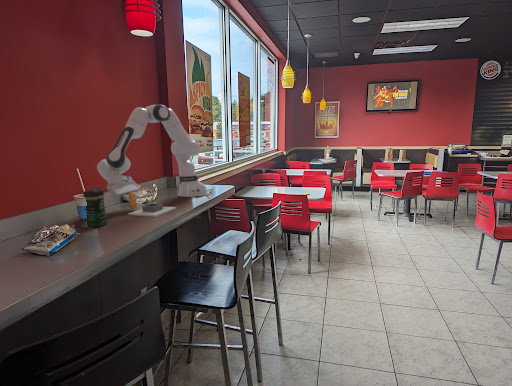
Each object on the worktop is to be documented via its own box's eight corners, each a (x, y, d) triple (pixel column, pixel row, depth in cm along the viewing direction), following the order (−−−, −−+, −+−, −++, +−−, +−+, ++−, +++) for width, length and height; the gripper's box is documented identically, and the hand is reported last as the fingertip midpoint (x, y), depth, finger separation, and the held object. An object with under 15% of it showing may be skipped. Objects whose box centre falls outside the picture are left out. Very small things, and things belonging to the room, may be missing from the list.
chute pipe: (128, 208, 196) (126, 193, 195) (132, 207, 200) (131, 192, 198) (133, 208, 195) (132, 193, 193) (138, 207, 199) (136, 192, 197)
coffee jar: (99, 228, 162) (95, 190, 158) (84, 228, 162) (79, 190, 159) (110, 222, 171) (106, 186, 168) (95, 222, 172) (91, 187, 169)
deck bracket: (128, 215, 186) (127, 208, 186) (150, 207, 205) (150, 200, 204) (155, 216, 180) (154, 209, 180) (176, 208, 199) (175, 202, 198)
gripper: (107, 181, 187) (123, 199, 185) (132, 176, 206) (147, 192, 204) (102, 189, 189) (118, 206, 188) (127, 183, 208) (141, 199, 207)
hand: (133, 199), depth 196 cm, fingers closed on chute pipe, 4 cm apart
